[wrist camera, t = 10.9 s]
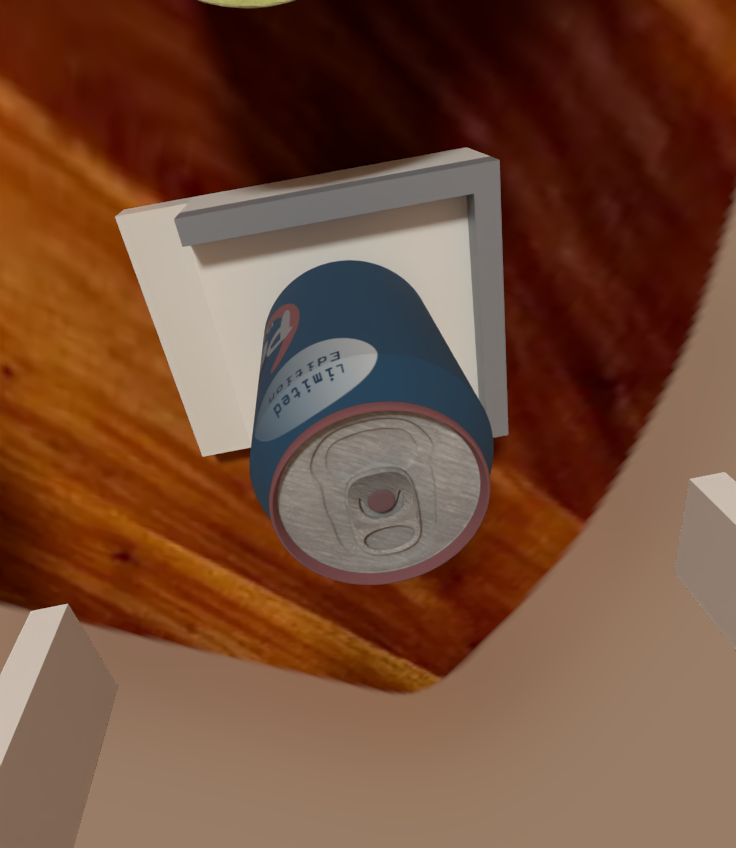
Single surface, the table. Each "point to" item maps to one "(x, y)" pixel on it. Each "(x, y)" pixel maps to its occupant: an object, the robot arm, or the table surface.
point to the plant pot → (246, 3)
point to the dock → (308, 248)
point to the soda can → (366, 429)
